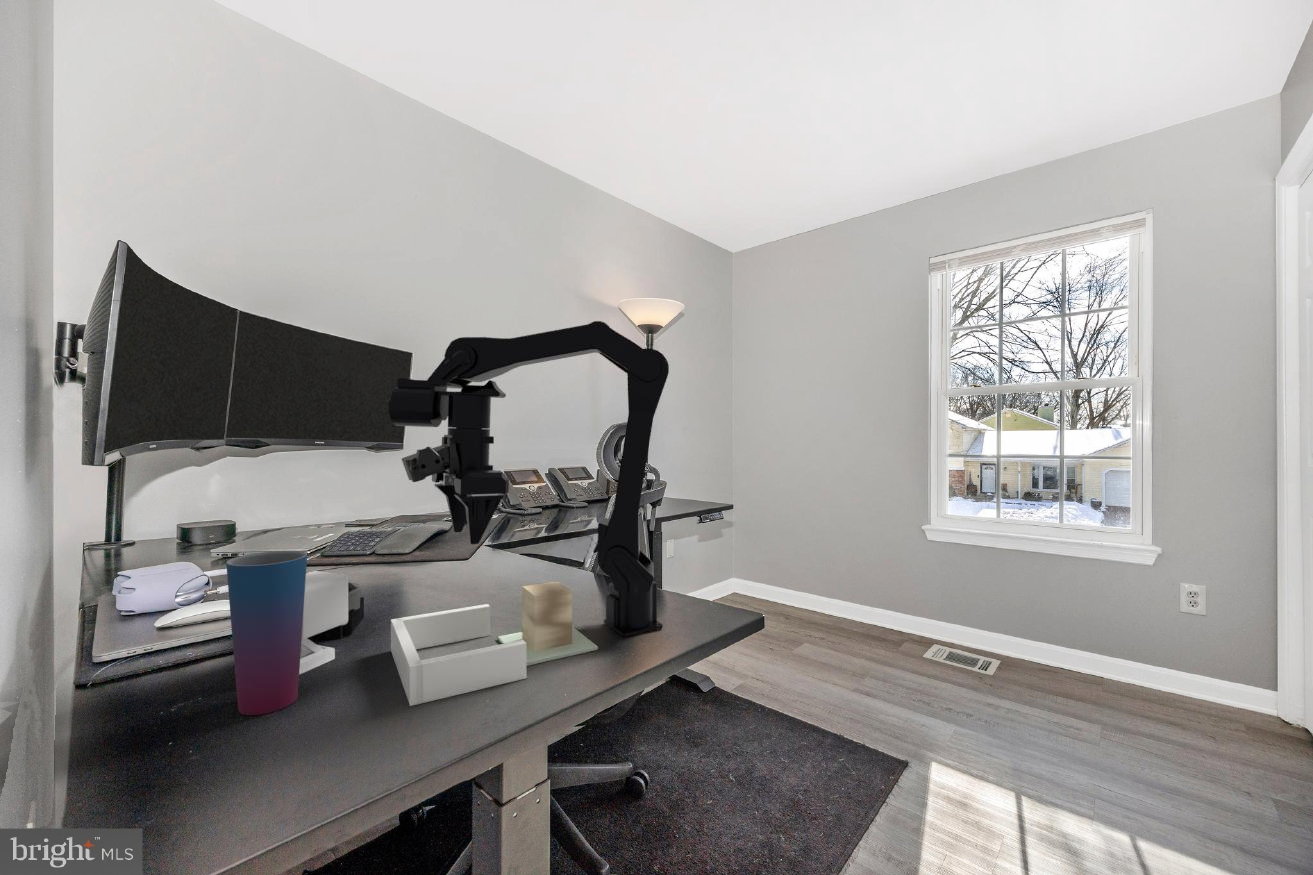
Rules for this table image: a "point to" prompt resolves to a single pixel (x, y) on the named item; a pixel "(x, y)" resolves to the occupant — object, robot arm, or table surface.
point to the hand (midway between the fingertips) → (465, 537)
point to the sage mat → (577, 647)
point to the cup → (267, 627)
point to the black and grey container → (353, 616)
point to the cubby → (452, 655)
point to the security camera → (322, 615)
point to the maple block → (546, 615)
